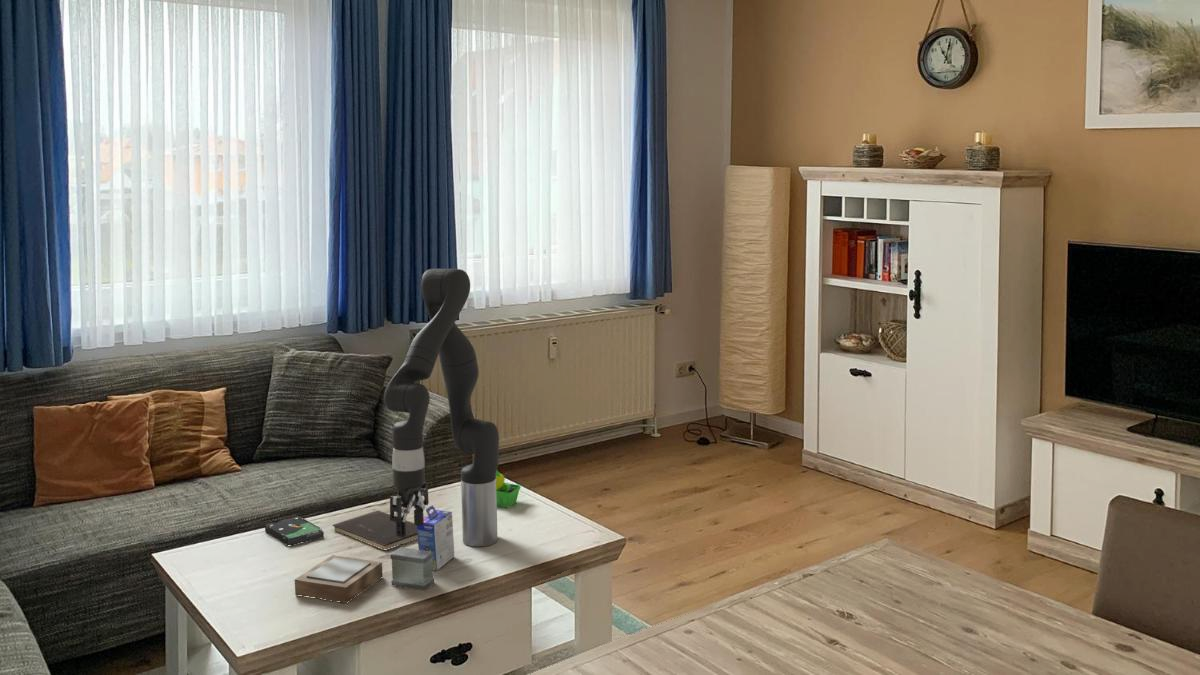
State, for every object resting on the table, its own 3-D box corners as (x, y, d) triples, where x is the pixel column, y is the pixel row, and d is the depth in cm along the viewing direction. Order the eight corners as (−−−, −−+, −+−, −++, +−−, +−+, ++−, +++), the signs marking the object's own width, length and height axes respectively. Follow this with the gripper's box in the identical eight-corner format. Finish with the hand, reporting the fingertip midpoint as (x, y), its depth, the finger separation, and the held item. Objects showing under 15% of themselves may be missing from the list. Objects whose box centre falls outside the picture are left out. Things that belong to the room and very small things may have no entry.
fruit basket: (522, 501, 321) (521, 464, 319) (507, 510, 313) (507, 473, 311) (488, 496, 325) (487, 460, 323) (473, 505, 317) (472, 468, 315)
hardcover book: (384, 553, 282) (384, 545, 282) (332, 532, 297) (332, 524, 297) (432, 536, 294) (431, 528, 294) (380, 517, 309) (379, 509, 309)
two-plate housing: (401, 578, 265) (400, 547, 264) (434, 582, 262) (433, 551, 261) (391, 585, 261) (390, 554, 259) (424, 590, 258) (423, 558, 256)
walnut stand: (333, 570, 270) (332, 553, 269) (382, 577, 266) (381, 560, 265) (295, 595, 255) (294, 578, 254) (346, 603, 251) (346, 585, 250)
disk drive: (264, 534, 297) (289, 548, 286) (263, 524, 296) (288, 538, 285) (299, 525, 304) (325, 538, 293) (298, 515, 303) (324, 528, 292)
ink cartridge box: (436, 554, 280) (434, 500, 278) (455, 556, 279) (453, 502, 276) (417, 568, 271) (415, 513, 269) (437, 571, 269) (435, 515, 267)
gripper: (407, 475, 248) (409, 542, 251) (436, 458, 262) (438, 523, 264) (378, 472, 251) (381, 538, 254) (409, 455, 264) (411, 519, 267)
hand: (410, 530), depth 259 cm, fingers open, 8 cm apart
